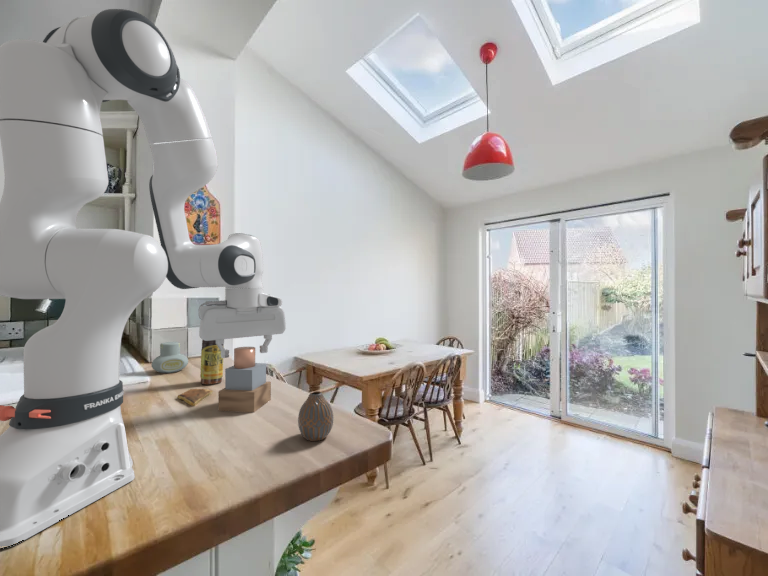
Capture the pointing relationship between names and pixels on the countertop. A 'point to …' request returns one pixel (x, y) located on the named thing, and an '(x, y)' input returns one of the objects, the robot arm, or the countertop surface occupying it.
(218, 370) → the sauce bottle
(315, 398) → the vase
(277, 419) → the countertop surface
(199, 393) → the toasted sandwich
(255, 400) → the base block
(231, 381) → the top block
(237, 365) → the peach pillar candle
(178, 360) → the air freshener
